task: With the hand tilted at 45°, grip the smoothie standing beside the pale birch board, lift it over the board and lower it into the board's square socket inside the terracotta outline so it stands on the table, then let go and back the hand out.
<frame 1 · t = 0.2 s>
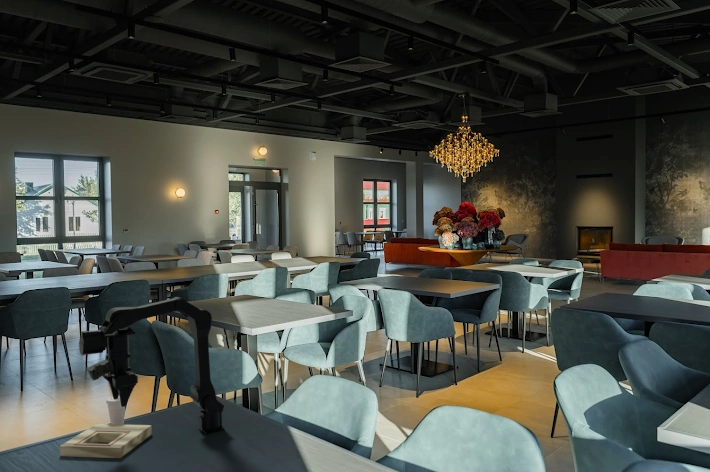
hand: (119, 402, 175), 15 cm above the table, tool pointing down, fingers open, 9 cm apart
socket board: (107, 444, 181), on the table
smoothie: (117, 427, 197), on the table
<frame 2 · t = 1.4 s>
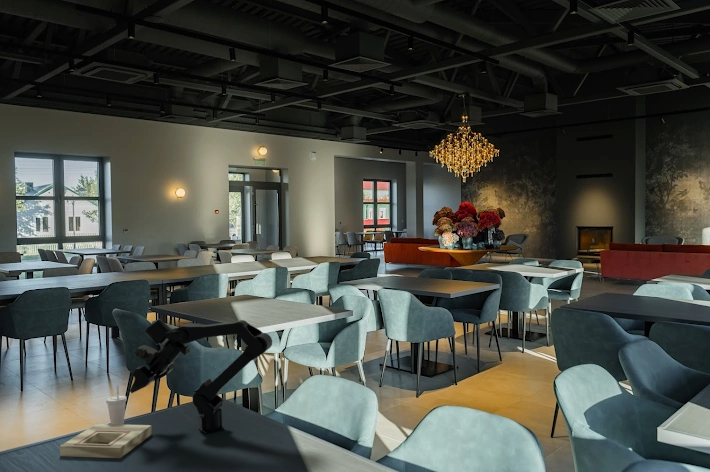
hand: (138, 387, 195), 13 cm above the table, tool tilted 45°, fingers open, 9 cm apart
nothing on the table moved.
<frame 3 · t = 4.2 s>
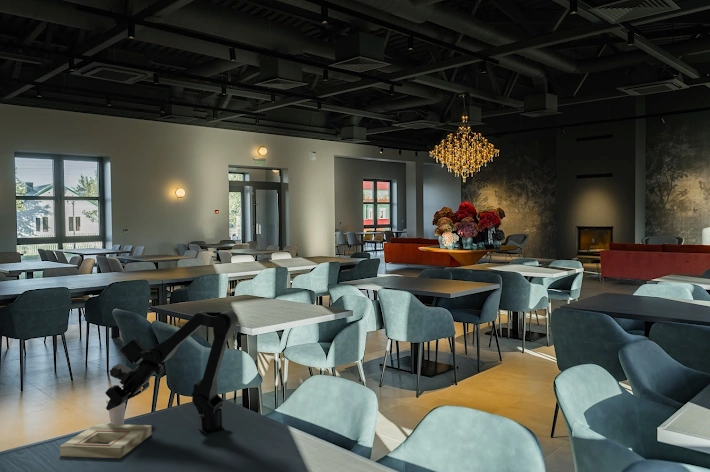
hand: (112, 406, 197), 7 cm above the table, tool tilted 45°, fingers closed on smoothie, 6 cm apart
smoothie: (117, 427, 197), on the table, touching gripper
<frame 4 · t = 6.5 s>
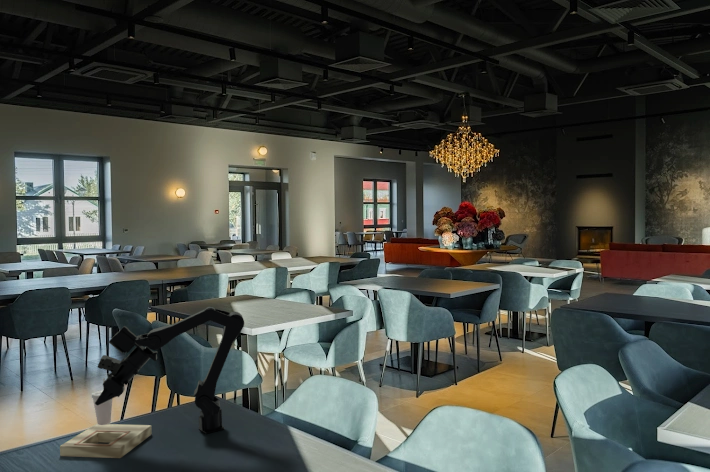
hand: (98, 401, 184), 13 cm above the table, tool tilted 45°, fingers closed on smoothie, 6 cm apart
smoothie: (104, 423, 184), point 5 cm above the table, touching gripper
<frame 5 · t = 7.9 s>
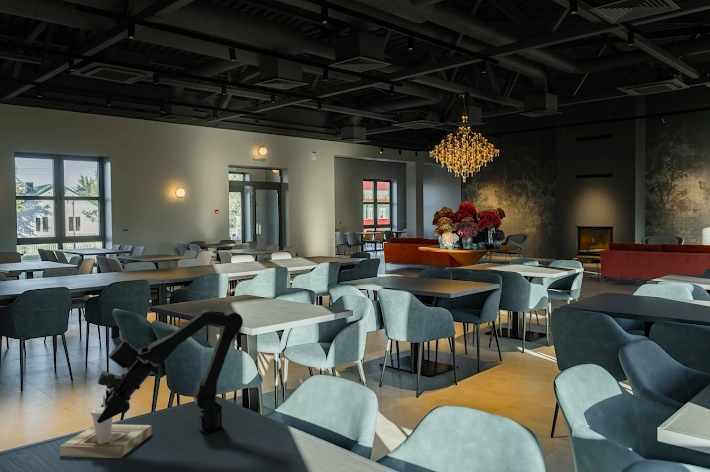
hand: (97, 419, 178), 9 cm above the table, tool tilted 45°, fingers closed on smoothie, 6 cm apart
smoothie: (104, 441, 179), point 2 cm above the table, touching gripper
when the fingers open (8 cm above the table, at t = 9.1 s): smoothie stays where it is, resting in socket board.
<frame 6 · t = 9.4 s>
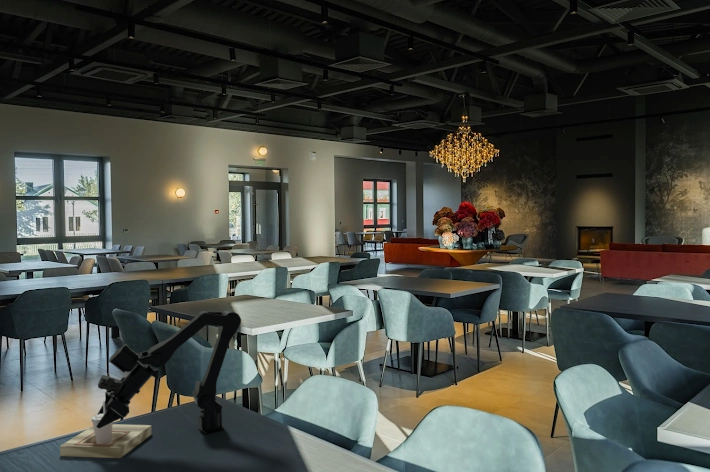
hand: (97, 422, 178), 8 cm above the table, tool tilted 45°, fingers open, 9 cm apart
smoothie: (104, 448, 179), resting in socket board
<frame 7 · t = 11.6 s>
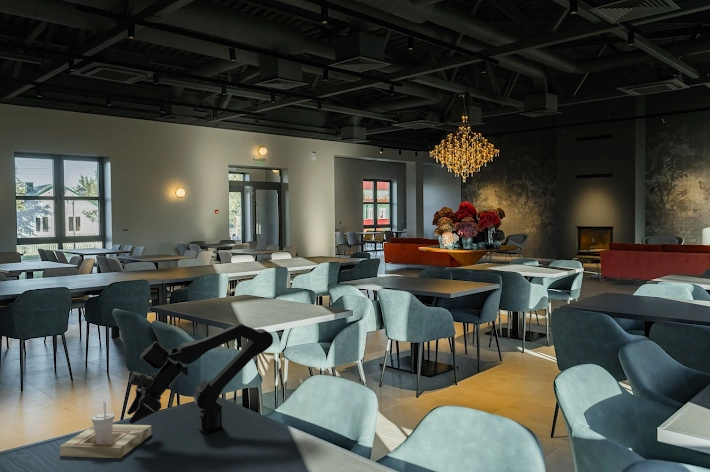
hand: (129, 418, 182), 8 cm above the table, tool tilted 45°, fingers open, 9 cm apart
nothing on the table moved.
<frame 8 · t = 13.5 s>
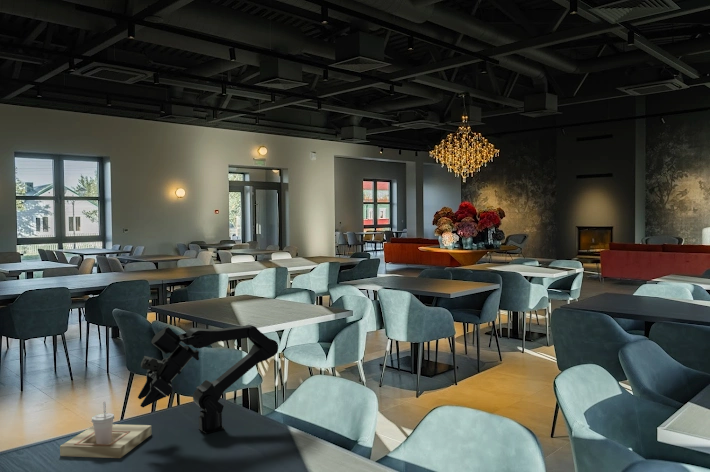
hand: (140, 402, 182), 13 cm above the table, tool tilted 45°, fingers open, 9 cm apart
nothing on the table moved.
at the end: smoothie 0.3 cm from the target spot on the socket board, point 0.0 cm above the socket board's base; smoothie tilted 0°; the gripper is holding nothing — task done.
